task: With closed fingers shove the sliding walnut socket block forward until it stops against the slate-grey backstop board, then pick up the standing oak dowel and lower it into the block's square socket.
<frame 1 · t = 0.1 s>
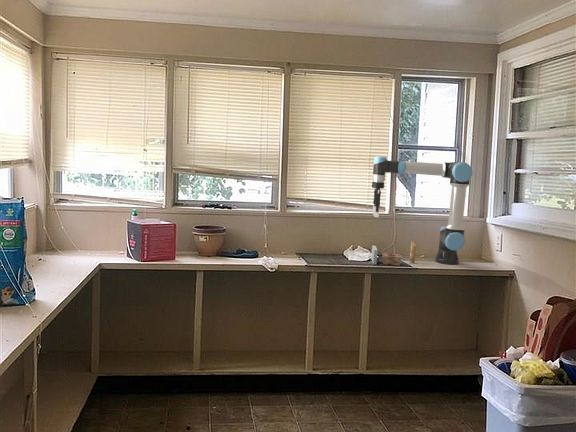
hand: (375, 215, 376), 28 cm above the table, tool pointing down, fingers open, 13 cm apart
block: (391, 259, 371), point 3 cm above the table, slide at 0.0 cm
backstop: (373, 262, 372), on the table
dowel: (411, 262, 379), on the table
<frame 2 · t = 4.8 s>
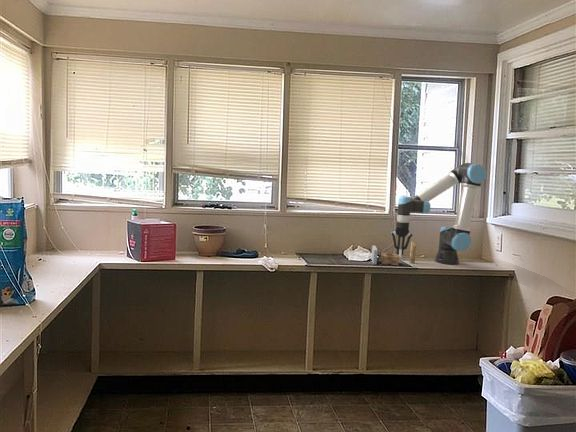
hand: (399, 259, 371), 3 cm above the table, tool pointing down, fingers closed
block: (389, 259, 371), point 3 cm above the table, slide at 0.8 cm, touching gripper
everything else where it was.
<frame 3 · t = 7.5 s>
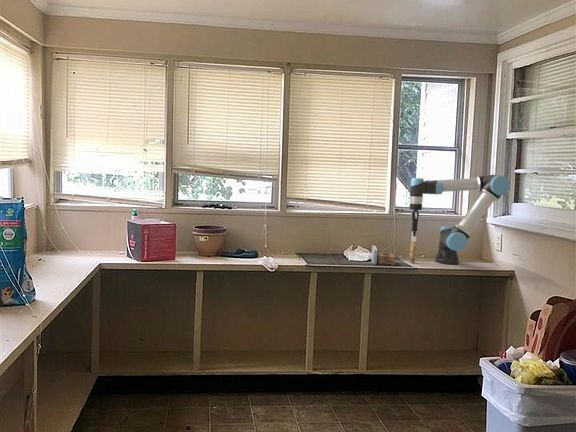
hand: (413, 241, 375), 14 cm above the table, tool pointing down, fingers closed
block: (385, 258, 371), point 3 cm above the table, slide at 3.2 cm
everything else where it was.
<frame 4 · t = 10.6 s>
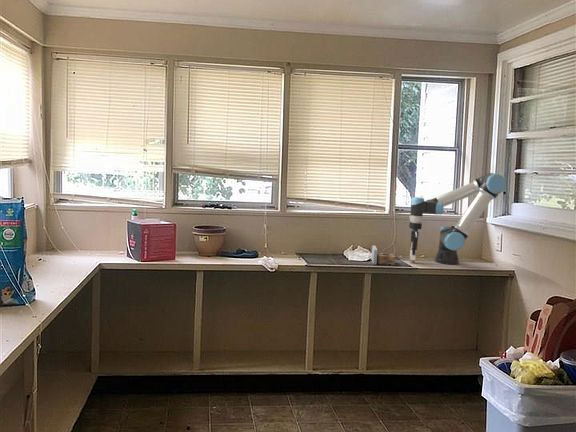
hand: (412, 259, 378), 2 cm above the table, tool pointing down, fingers closed on dowel, 3 cm apart
dowel: (412, 262, 379), on the table, touching gripper
everything else where it was.
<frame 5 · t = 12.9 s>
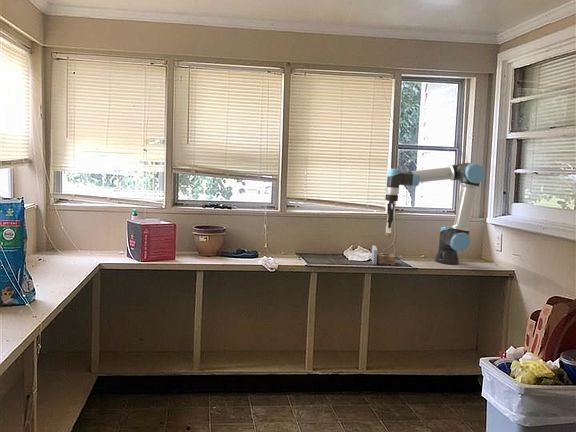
hand: (388, 232, 370), 19 cm above the table, tool pointing down, fingers closed on dowel, 3 cm apart
dowel: (388, 235, 370), point 17 cm above the table, touching gripper
everything else where it was.
when the fingers open (7 cm above the table, at t = 15.4 s): dowel drops 2 cm, resting on block.
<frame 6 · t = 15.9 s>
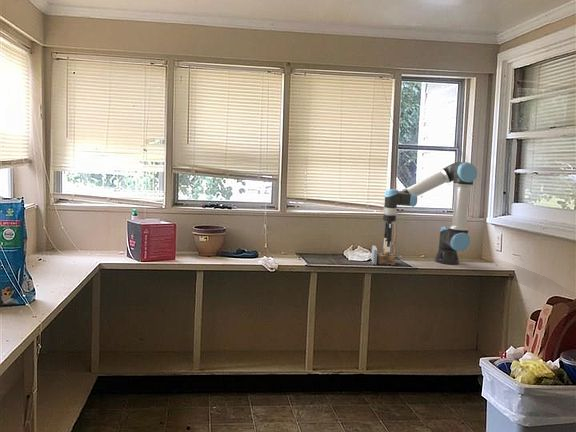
hand: (386, 250, 371), 8 cm above the table, tool pointing down, fingers open, 11 cm apart
block: (385, 258, 371), point 3 cm above the table, slide at 3.2 cm, touching dowel
dowel: (385, 261, 371), point 1 cm above the table, touching block
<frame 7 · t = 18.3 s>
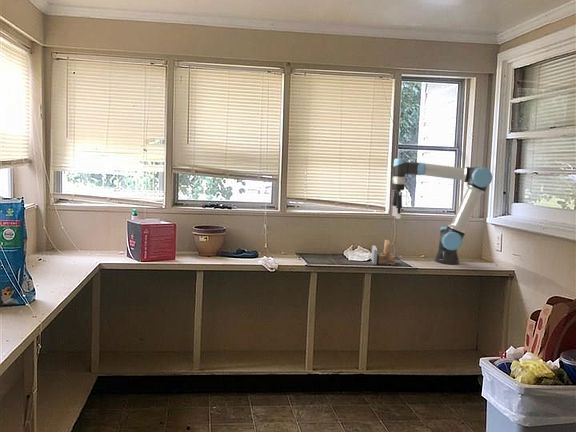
hand: (396, 217, 379), 27 cm above the table, tool pointing down, fingers open, 13 cm apart
nothing on the table moved.
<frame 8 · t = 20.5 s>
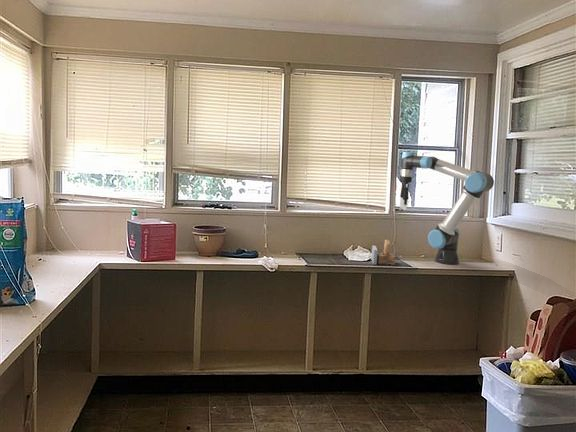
hand: (403, 208, 393), 32 cm above the table, tool pointing down, fingers open, 13 cm apart
nothing on the table moved.
at the end: block slide at 3.2 cm; dowel 0.1 cm off-centre on the block, point 1.2 cm above the block's base; the gripper is holding nothing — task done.
